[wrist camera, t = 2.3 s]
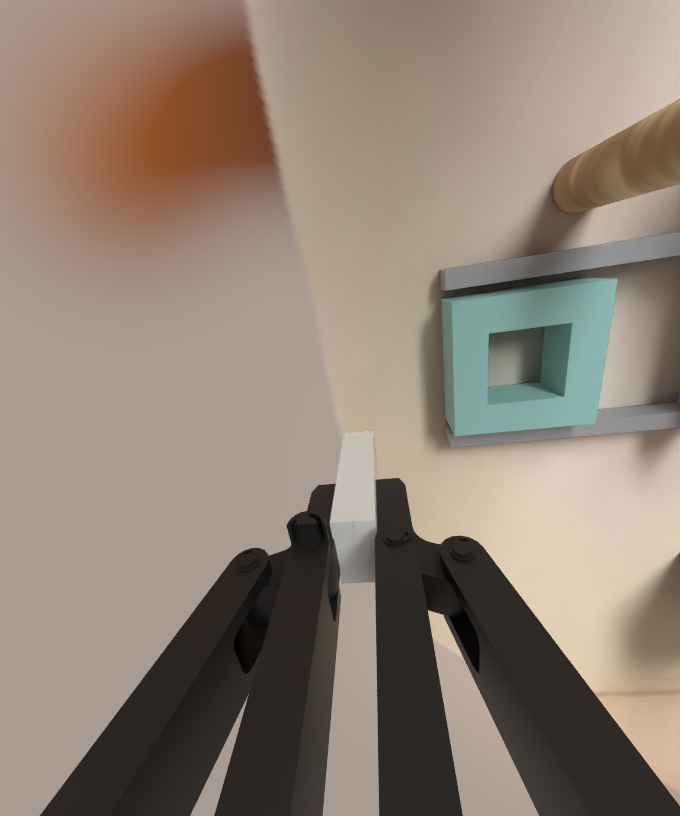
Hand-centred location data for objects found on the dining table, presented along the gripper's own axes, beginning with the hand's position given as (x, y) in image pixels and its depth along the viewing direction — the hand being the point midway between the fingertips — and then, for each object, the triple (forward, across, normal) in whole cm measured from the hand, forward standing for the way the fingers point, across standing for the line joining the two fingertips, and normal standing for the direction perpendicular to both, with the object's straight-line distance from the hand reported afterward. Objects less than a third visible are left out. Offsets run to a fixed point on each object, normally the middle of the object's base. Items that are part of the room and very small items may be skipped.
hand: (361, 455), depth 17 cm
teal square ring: (+15, +13, 0) cm, 19 cm away
